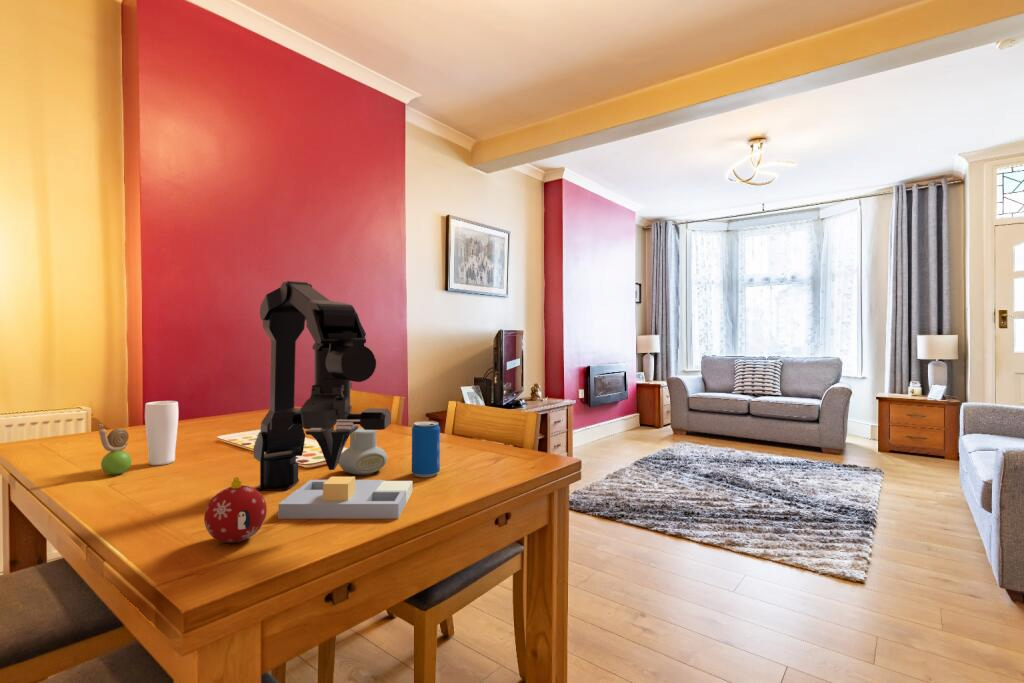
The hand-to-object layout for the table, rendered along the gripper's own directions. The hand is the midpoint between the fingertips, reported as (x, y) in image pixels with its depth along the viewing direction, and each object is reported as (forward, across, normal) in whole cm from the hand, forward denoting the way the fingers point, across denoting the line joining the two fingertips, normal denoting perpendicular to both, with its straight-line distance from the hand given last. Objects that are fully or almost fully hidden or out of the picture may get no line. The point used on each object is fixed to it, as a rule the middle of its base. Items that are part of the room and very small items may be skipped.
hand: (332, 469), depth 84 cm
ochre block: (+7, -1, +8) cm, 10 cm away
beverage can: (+10, +12, +31) cm, 34 cm away
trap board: (+10, 0, +11) cm, 15 cm away
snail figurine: (+10, -58, +30) cm, 66 cm away
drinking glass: (+10, -54, +40) cm, 68 cm away
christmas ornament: (+10, -13, -6) cm, 17 cm away
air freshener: (+10, -4, +33) cm, 35 cm away
